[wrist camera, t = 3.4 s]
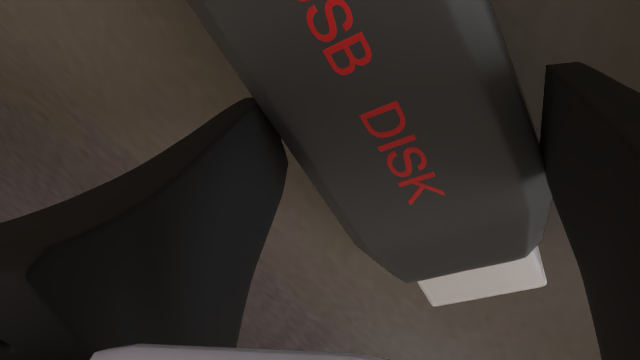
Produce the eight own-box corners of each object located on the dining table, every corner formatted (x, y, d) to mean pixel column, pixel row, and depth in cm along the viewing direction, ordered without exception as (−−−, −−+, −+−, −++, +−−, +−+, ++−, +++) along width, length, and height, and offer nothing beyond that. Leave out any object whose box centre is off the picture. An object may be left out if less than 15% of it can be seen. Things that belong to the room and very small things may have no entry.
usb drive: (401, -250, 8) (392, -267, 6) (569, 224, 14) (594, 301, 12) (181, -88, 10) (120, -58, 8) (404, 263, 16) (400, 333, 14)
